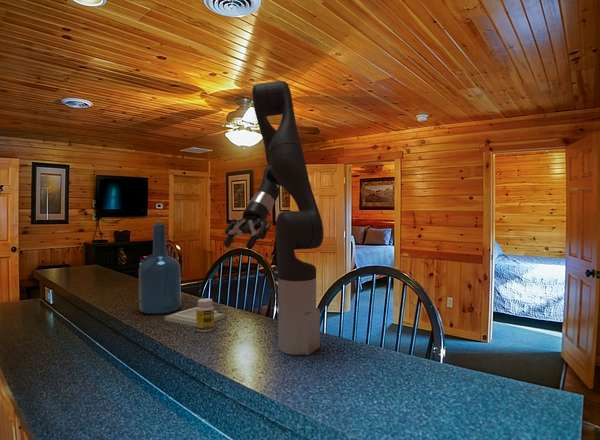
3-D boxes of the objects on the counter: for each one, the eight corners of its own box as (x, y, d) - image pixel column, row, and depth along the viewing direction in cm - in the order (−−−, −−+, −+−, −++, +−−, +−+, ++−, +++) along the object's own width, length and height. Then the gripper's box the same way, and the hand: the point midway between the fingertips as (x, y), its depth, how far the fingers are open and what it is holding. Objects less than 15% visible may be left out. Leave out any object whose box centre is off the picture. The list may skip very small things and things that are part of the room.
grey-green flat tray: (224, 317, 120) (224, 311, 120) (198, 327, 110) (198, 320, 110) (191, 312, 127) (191, 305, 127) (164, 320, 117) (164, 313, 117)
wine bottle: (163, 303, 139) (162, 220, 138) (189, 308, 132) (188, 220, 131) (129, 312, 127) (127, 221, 126) (156, 318, 120) (154, 221, 119)
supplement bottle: (203, 333, 105) (203, 302, 105) (193, 330, 108) (192, 300, 108) (217, 329, 109) (217, 299, 109) (206, 326, 112) (206, 297, 112)
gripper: (236, 200, 128) (212, 237, 118) (272, 200, 120) (250, 240, 111) (246, 216, 132) (224, 253, 123) (281, 217, 125) (261, 256, 116)
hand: (236, 246), depth 117 cm, fingers open, 8 cm apart
